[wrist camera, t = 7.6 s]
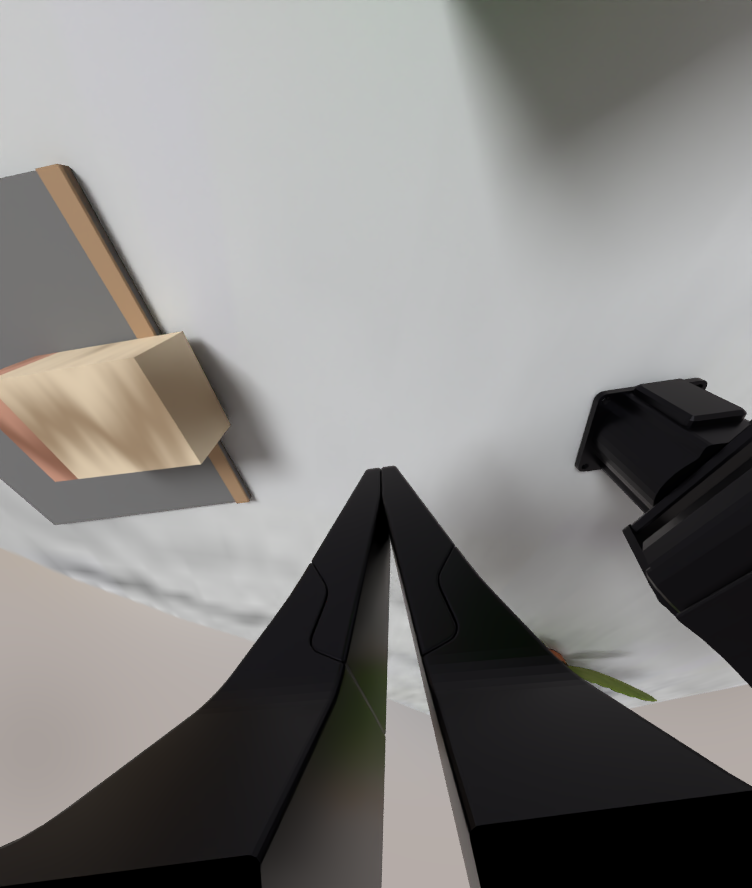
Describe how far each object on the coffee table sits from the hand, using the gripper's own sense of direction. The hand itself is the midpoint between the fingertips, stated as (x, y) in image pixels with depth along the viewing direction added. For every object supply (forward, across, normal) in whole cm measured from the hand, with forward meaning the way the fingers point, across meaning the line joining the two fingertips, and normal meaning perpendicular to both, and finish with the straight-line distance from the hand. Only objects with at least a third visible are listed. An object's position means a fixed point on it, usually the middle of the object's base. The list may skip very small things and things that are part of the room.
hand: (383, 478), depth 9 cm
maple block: (+8, +10, 0) cm, 13 cm away
